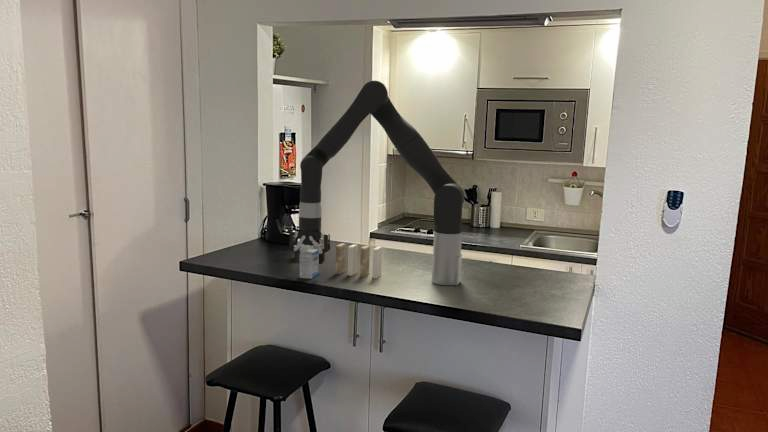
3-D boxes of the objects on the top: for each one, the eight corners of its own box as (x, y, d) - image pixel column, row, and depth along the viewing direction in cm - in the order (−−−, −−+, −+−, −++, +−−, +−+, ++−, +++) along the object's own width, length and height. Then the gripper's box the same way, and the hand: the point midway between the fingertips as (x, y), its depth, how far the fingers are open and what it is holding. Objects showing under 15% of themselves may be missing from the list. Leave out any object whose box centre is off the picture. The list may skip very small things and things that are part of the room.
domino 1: (344, 271, 209) (345, 243, 207) (339, 274, 204) (340, 246, 202) (340, 270, 209) (341, 243, 208) (335, 273, 204) (336, 245, 203)
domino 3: (368, 273, 206) (369, 245, 205) (364, 277, 201) (365, 248, 200) (364, 273, 206) (365, 245, 205) (359, 276, 202) (360, 247, 200)
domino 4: (381, 275, 205) (382, 246, 203) (376, 278, 200) (377, 249, 199) (376, 274, 205) (377, 246, 204) (372, 277, 200) (373, 249, 199)
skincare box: (313, 260, 225) (313, 241, 224) (297, 260, 224) (297, 241, 223) (312, 256, 231) (313, 238, 230) (297, 256, 230) (297, 238, 229)
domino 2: (356, 272, 207) (357, 244, 206) (351, 275, 203) (352, 247, 201) (352, 272, 208) (353, 244, 206) (347, 275, 203) (348, 246, 202)
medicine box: (311, 279, 196) (312, 253, 195) (299, 278, 197) (299, 252, 196) (319, 273, 204) (319, 249, 202) (306, 272, 204) (307, 248, 203)
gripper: (334, 215, 199) (332, 262, 201) (295, 212, 203) (295, 258, 205) (325, 218, 192) (324, 267, 194) (285, 215, 196) (285, 262, 198)
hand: (309, 262), depth 200 cm, fingers open, 8 cm apart
